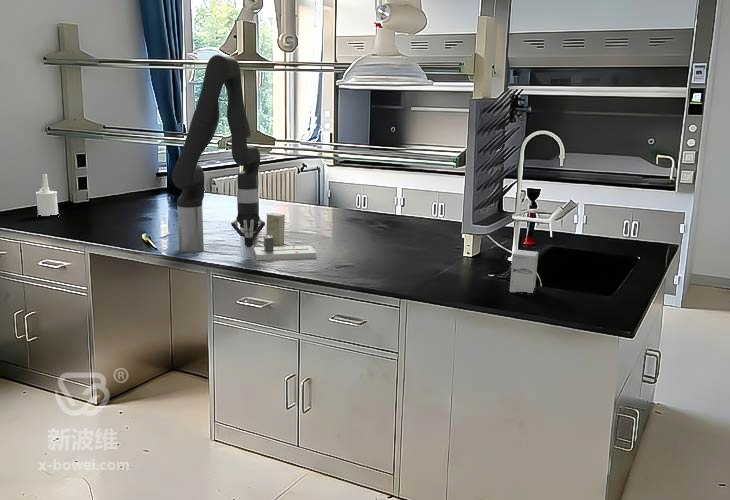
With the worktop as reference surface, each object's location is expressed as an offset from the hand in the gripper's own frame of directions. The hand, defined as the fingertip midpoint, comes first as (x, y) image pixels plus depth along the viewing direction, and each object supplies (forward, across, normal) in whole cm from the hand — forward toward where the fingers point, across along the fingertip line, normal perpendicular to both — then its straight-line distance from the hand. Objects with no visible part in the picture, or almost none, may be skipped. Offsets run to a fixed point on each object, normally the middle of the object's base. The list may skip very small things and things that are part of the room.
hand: (248, 246), depth 259 cm
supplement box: (+5, +81, -60) cm, 101 cm away
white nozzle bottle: (+3, -86, +96) cm, 129 cm away
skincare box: (+4, +12, +20) cm, 24 cm away
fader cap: (+1, +7, 0) cm, 7 cm away
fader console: (+4, +13, 0) cm, 14 cm away
